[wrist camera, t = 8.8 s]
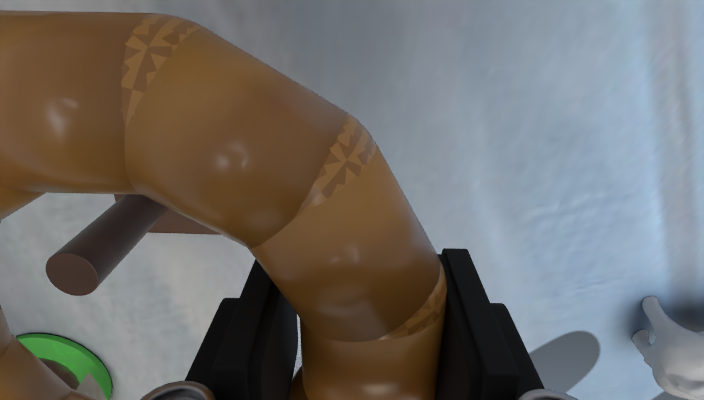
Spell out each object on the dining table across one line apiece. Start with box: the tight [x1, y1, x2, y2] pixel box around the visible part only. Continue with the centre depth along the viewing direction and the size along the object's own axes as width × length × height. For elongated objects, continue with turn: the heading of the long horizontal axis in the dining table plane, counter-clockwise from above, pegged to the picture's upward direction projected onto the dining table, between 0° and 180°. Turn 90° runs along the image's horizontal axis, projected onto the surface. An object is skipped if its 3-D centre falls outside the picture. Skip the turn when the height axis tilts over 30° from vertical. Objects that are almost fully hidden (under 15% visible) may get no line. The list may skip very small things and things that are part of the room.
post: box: [46, 194, 222, 296], centre depth 27 cm, size 9×9×14 cm
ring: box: [0, 10, 447, 400], centre depth 10 cm, size 13×13×3 cm
